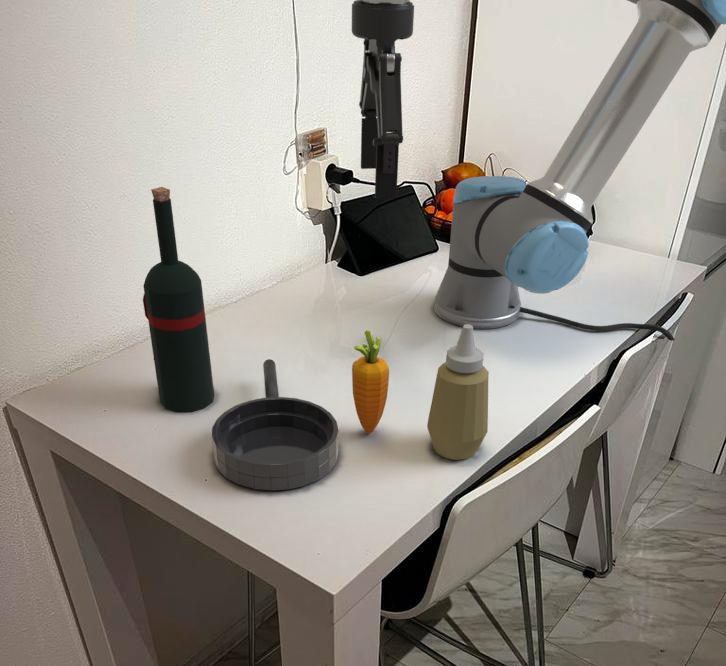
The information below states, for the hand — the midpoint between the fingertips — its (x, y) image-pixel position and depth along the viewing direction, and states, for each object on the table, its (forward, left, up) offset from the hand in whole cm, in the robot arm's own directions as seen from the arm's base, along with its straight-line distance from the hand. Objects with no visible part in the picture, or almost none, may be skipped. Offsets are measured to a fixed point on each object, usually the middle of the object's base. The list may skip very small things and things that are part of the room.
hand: (377, 182), depth 108 cm
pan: (+16, +22, -29) cm, 40 cm away
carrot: (+3, +18, -29) cm, 34 cm away
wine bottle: (+29, +5, -29) cm, 41 cm away
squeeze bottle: (-8, +23, -29) cm, 38 cm away
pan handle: (+16, +8, -26) cm, 32 cm away
